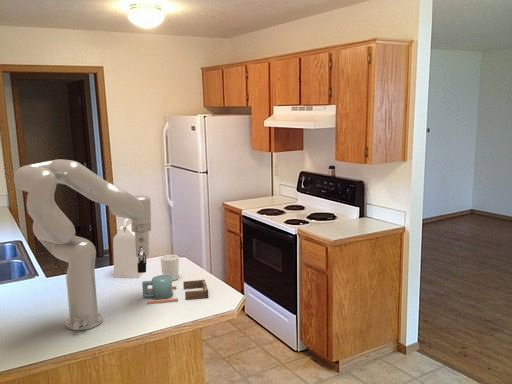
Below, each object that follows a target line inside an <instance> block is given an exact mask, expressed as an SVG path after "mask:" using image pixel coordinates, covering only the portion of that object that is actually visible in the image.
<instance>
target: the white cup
mask: <svg viewBox="0 0 512 384" xmlns="http://www.w3.org/2000/svg"><path fill="white" fill-rule="evenodd" d="M179 257H180V256H178V255H177V254H166V255H162V256H161V257H160V264H161V265H160V266H161V275H168V276H171V277H172V282H173V281H177V280H178V279H179Z"/></svg>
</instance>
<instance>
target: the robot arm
mask: <svg viewBox="0 0 512 384" xmlns="http://www.w3.org/2000/svg"><path fill="white" fill-rule="evenodd" d="M13 182H14V185H15V186H16V188H18V189H19V190H21V191H22V192H27V196H26V210H27V212H28V215H29V216H30V217H31V219H32V220H33V223H32V232H33V235H34V236H35V237H36V239H37V240H38V241H39V242H40V243H41V244H42V245H43V246H44V247H45V248H46V250H48V252H49V253H50V254H51V255H52V256H53V257H55V258H56V259H58V260H60V261H63V262H65V263H68V266H67V269H66V275H65V276H66V278H65V279H66V288H67V289H66V290H67V302H68V303H67V304H68V313H69V317H68V319H66V321H65V327H66V328H67V329H68V330H71V331H85V330H90V329H93V328H96V327H98V326H99V325H100V324H101V323H102V322H103V321H104V319H103V315H102V314H101V313H99V310H98V301H97V299H98V298H97V296H98V295H97V288H96V286H97V285H96V273H95V268H96V267H95V266H96V265H95V264H96V259H97V258H96V257H97V250H96V246H95V245H94V243H93V242H91V240H89V239H87V238H85V237H82V236H77V235H76V229H75V225H74V224H73V222H72V221H71V220H70V218H68V216H67V215H66V214H65V213H64V212H63V211H62V210H61V209H60V207H59V206H58V205H57V203H56V202H55V193H56V188H57V185H58V184H61V185H66V186H67V187H68V188H71V189H72V190H74V191H76V192H78V193H79V194H81V195H82V196H84V197H86V198H87V199H89V200H90V201H93V202H95V203H97V204H101V205H103V206H104V205H105V206H107V207H109V208H108V209H109V211H110V213H111V214H112V215H113V216H116V217H118V218H123V219H127V218H128V219H131V228H132V232H135V248H136V256H137V257H138V273H143V274H144V273H145V274H146V273H147V257H149V256H150V236H149V235H150V233H149V232H151V231H152V210H151V205H152V204H151V197H150V196H148V195H133V194H131V193H129V192H128V191H126V190H124V189H122V188H120V187H119V186H117V185H114V184H113V183H111V182H109V181H107V180H105V179H103V178H102V177H100V176H99V175H98V174H97V173H95V172H93V171H92V170H91V169H89V168H88V167H86V166H85V165H83V164H81V163H80V162H78V161H75V160H72V159H71V160H70V159H54V160H53V159H52V160H47V161H42V162H38V163H31V164H27V165H23V166H21V167H19V168H18V169H17V170H16V171H15V172H14V175H13Z"/></svg>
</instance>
